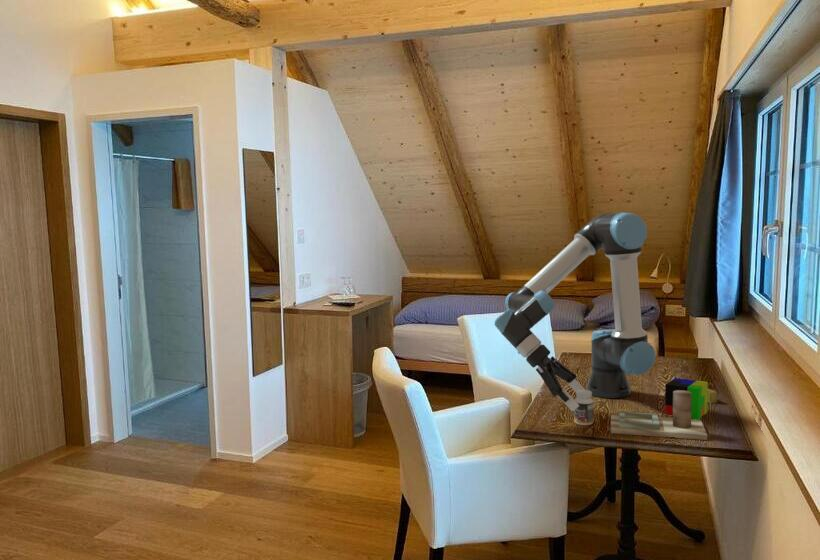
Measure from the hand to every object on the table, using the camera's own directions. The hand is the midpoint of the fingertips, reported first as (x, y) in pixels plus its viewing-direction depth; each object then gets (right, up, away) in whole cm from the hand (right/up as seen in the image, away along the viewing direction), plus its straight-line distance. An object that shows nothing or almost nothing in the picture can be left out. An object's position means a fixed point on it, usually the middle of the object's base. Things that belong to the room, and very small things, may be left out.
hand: (581, 402), depth 198 cm
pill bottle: (+1, -7, +1) cm, 7 cm away
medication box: (+48, -3, +24) cm, 54 cm away
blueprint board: (+21, -7, -7) cm, 23 cm away
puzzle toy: (+36, -5, +8) cm, 37 cm away
